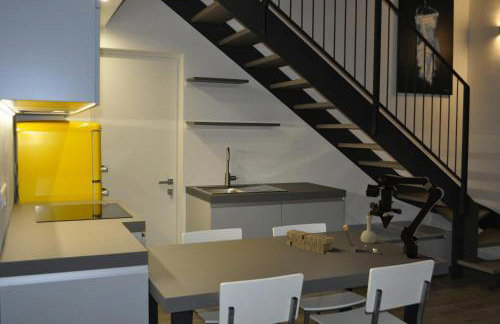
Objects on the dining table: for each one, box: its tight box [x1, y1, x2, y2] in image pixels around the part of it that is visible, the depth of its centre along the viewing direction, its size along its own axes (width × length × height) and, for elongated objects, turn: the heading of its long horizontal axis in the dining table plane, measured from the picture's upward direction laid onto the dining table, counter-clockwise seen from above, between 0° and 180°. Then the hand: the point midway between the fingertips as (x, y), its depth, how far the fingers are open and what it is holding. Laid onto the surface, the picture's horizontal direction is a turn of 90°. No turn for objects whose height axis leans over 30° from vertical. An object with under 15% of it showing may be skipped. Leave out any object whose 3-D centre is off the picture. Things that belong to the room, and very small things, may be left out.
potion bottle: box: [360, 211, 378, 244], centre depth 292 cm, size 9×9×18 cm
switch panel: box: [349, 243, 381, 256], centre depth 268 cm, size 20×13×4 cm, turn 80°
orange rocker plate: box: [343, 224, 356, 247], centre depth 269 cm, size 2×5×13 cm, turn 169°
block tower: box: [285, 229, 336, 254], centre depth 278 cm, size 8×8×29 cm
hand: (385, 228), depth 270 cm, fingers closed
